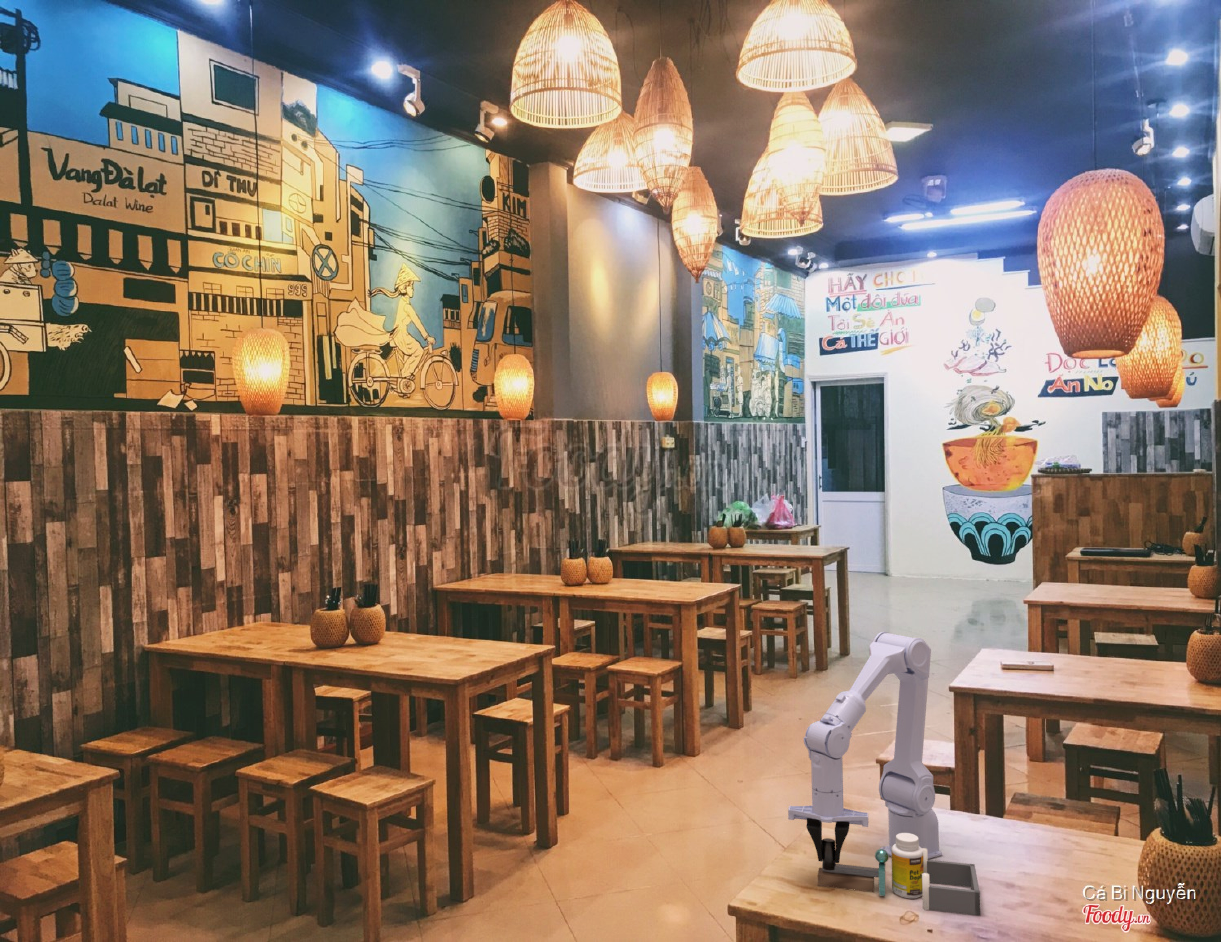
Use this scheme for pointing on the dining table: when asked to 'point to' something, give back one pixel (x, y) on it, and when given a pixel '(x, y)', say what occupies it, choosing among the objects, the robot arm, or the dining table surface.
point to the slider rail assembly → (831, 866)
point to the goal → (947, 896)
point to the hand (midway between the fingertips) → (828, 860)
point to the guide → (845, 881)
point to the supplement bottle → (907, 866)
